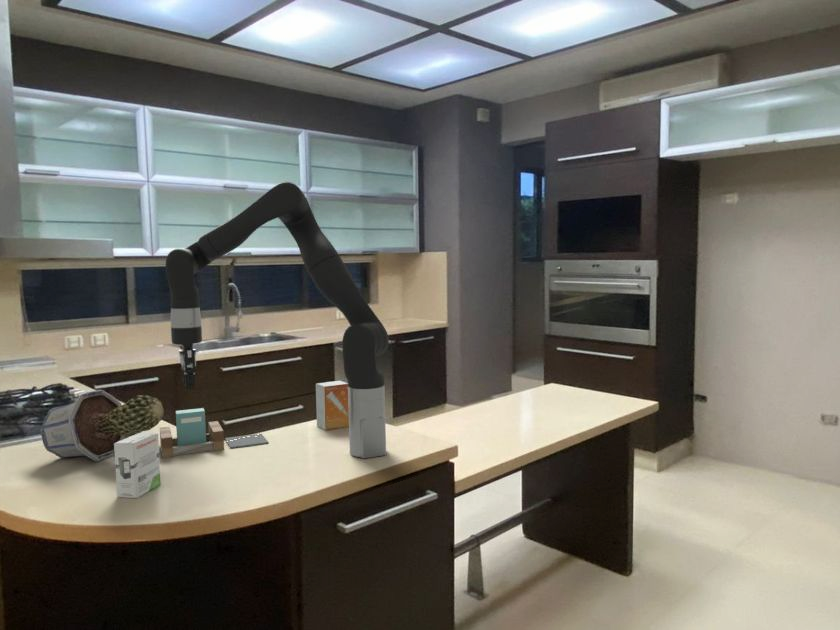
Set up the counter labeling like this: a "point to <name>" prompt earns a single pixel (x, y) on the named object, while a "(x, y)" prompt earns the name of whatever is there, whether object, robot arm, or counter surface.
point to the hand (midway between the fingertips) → (189, 386)
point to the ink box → (137, 465)
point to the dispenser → (213, 436)
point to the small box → (332, 405)
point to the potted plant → (97, 424)
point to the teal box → (190, 426)
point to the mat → (246, 440)
